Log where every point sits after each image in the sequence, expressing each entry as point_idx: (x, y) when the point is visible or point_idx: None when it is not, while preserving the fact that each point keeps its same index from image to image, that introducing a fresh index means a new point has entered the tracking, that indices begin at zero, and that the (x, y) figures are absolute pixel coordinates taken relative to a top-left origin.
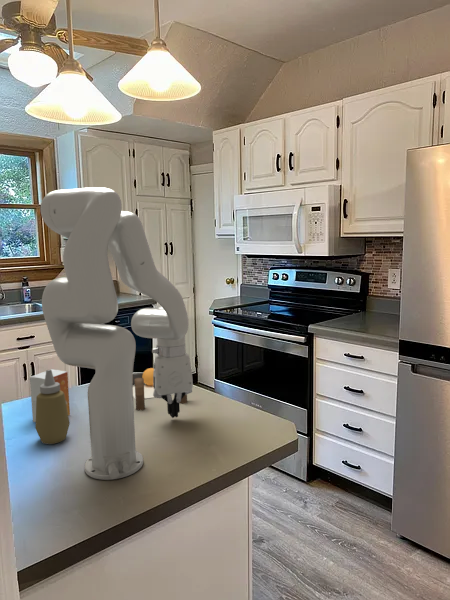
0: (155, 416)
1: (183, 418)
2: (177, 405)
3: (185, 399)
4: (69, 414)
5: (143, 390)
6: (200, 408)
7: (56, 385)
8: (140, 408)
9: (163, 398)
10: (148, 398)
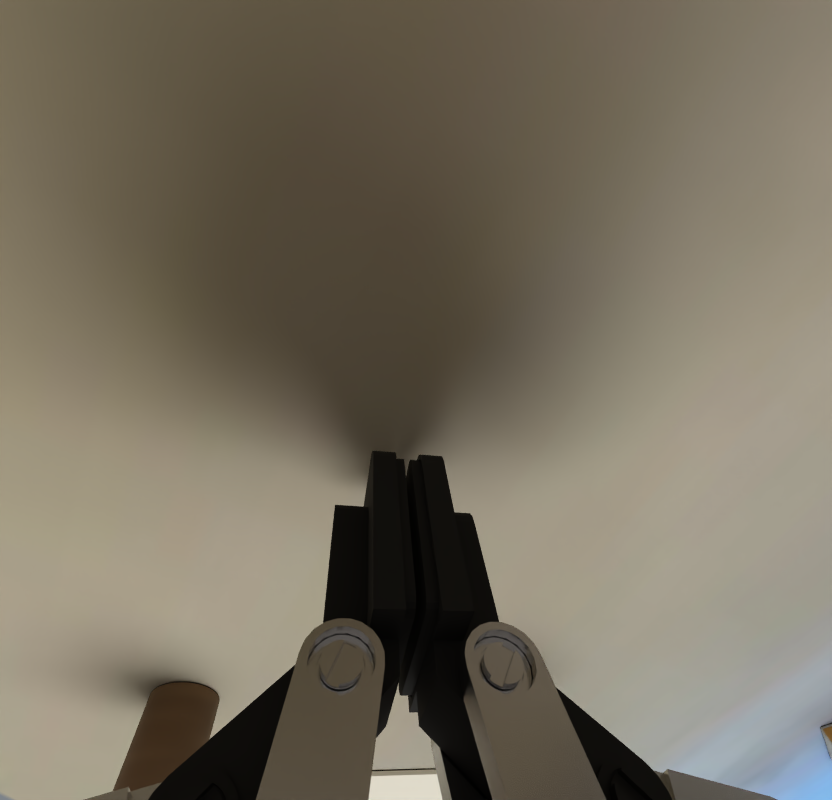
0: None
1: (283, 467)
2: (377, 573)
3: (157, 716)
4: (827, 731)
5: None
6: (52, 579)
7: None
8: None
9: (629, 759)
10: (384, 771)
